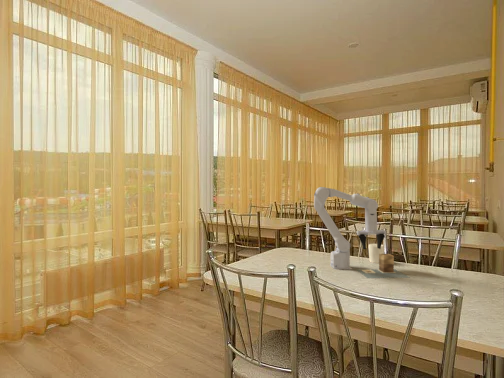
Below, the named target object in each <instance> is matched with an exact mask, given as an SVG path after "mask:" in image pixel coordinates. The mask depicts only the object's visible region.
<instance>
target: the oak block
mask: <svg viewBox="0 0 504 378" xmlns="http://www.w3.org/2000/svg"><path fill="white" fill-rule="evenodd" d="M394 259H395V256H394V255H392V254H390V253H383V254H379V262H380V263H382V264H395V260H394Z"/></svg>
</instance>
